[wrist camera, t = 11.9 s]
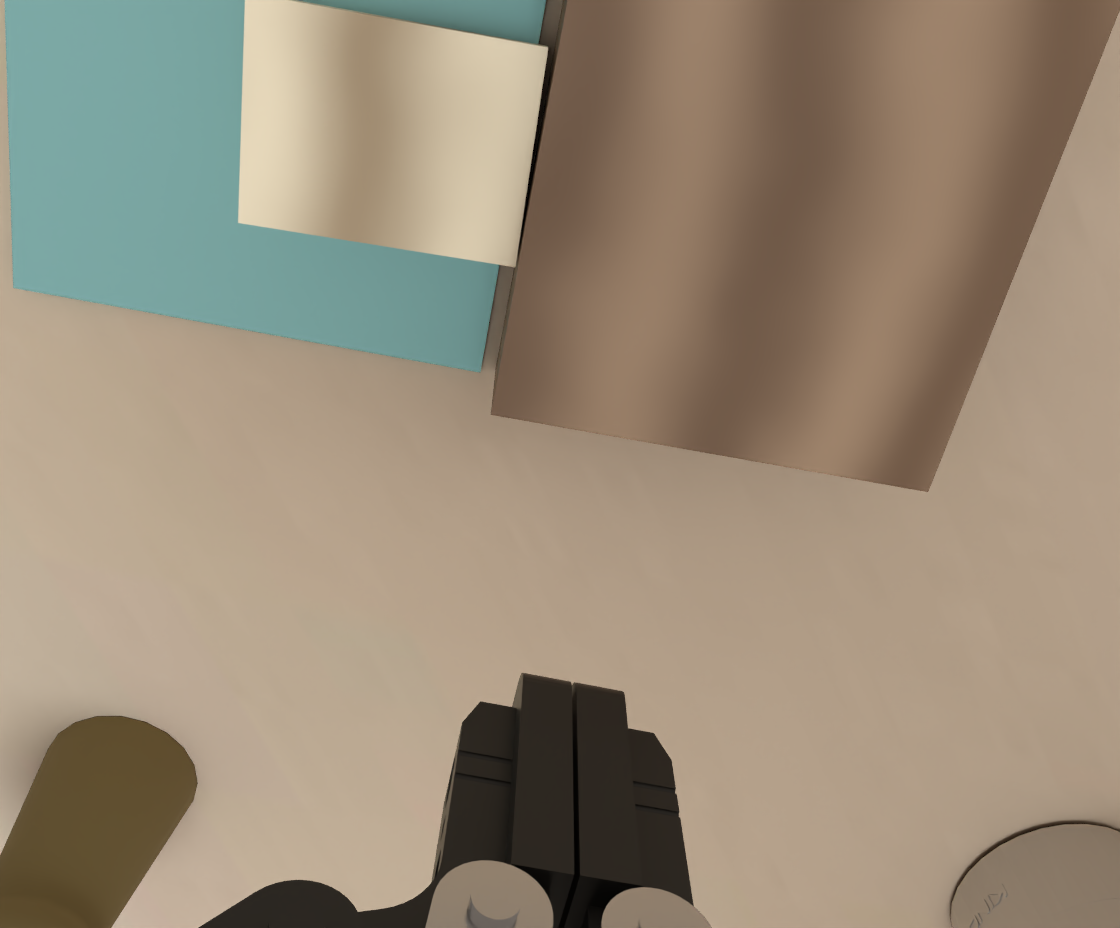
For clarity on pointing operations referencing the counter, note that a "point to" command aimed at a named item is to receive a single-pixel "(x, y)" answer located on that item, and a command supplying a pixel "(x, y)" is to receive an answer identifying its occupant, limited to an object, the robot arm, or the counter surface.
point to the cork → (93, 823)
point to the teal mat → (207, 182)
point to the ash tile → (386, 130)
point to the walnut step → (785, 219)
